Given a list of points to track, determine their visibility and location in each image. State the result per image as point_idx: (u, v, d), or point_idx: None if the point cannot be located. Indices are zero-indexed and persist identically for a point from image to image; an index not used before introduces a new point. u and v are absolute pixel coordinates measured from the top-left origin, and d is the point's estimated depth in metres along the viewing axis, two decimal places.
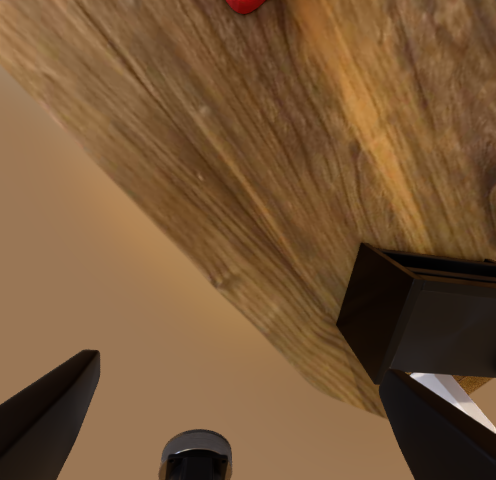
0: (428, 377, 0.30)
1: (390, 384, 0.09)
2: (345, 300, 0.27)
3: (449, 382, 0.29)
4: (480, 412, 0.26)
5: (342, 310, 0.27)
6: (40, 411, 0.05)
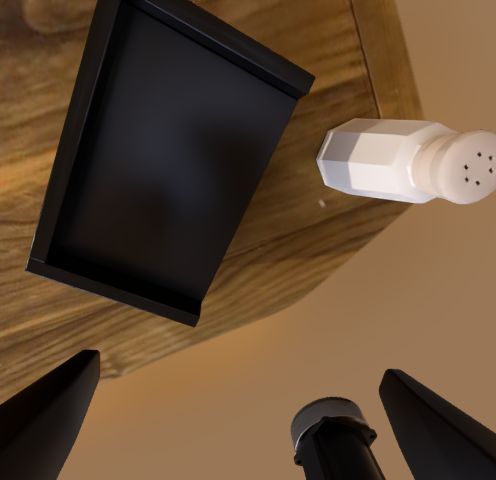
0: (325, 168, 0.20)
1: (390, 384, 0.09)
2: None
3: (336, 145, 0.18)
4: (369, 137, 0.15)
5: None
6: (40, 411, 0.05)
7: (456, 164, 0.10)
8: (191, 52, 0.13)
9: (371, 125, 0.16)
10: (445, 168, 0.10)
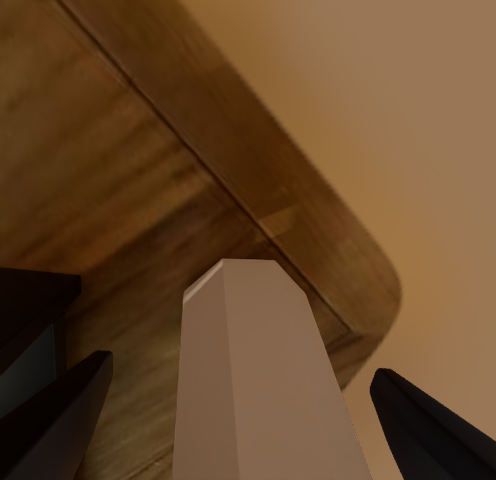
0: None
1: (380, 383, 0.09)
2: None
3: None
4: None
5: None
6: (59, 412, 0.05)
7: None
8: None
9: (205, 346, 0.07)
10: None
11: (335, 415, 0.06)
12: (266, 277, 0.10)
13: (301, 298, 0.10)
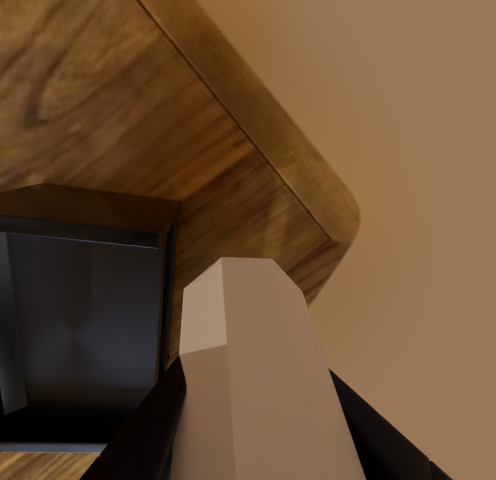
0: None
1: None
2: None
3: None
4: None
5: None
6: (174, 415, 0.06)
7: None
8: None
9: (203, 340, 0.08)
10: None
11: (326, 404, 0.06)
12: (263, 275, 0.10)
13: (297, 295, 0.11)
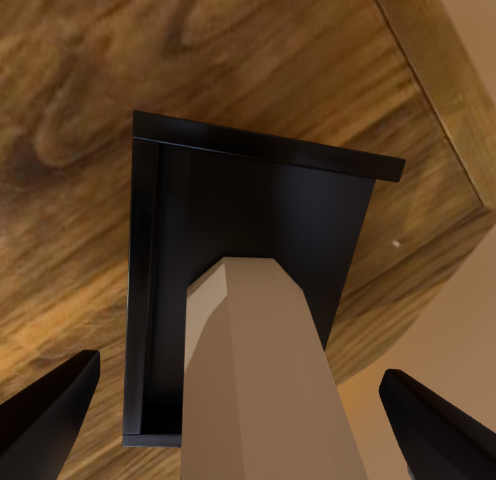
0: None
1: (390, 384, 0.09)
2: None
3: None
4: None
5: None
6: (40, 411, 0.05)
7: None
8: (240, 169, 0.10)
9: (209, 337, 0.08)
10: None
11: (328, 398, 0.07)
12: (265, 274, 0.10)
13: (298, 294, 0.11)
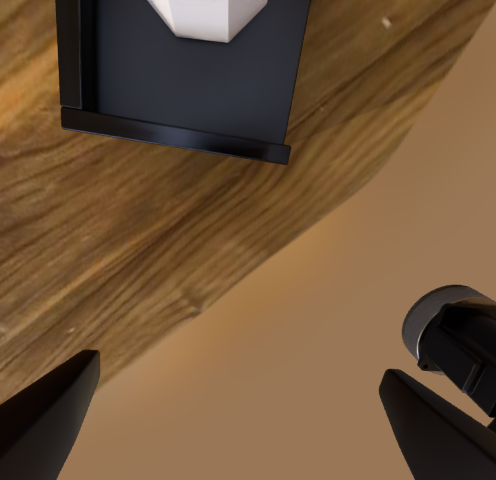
0: None
1: (390, 384, 0.09)
2: None
3: None
4: None
5: None
6: (40, 411, 0.05)
7: None
8: None
9: None
10: None
11: None
12: None
13: None
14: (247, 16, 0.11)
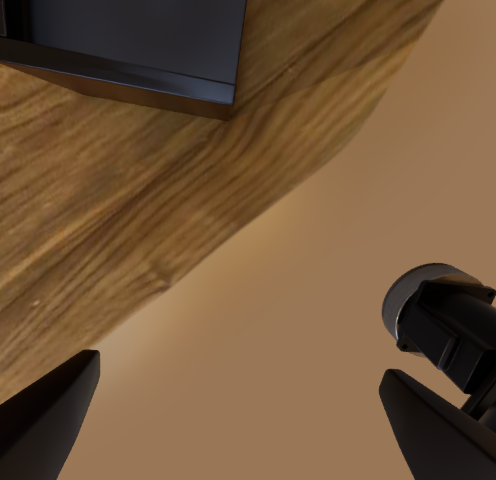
0: None
1: (390, 384, 0.09)
2: (179, 112, 0.17)
3: None
4: None
5: (197, 115, 0.18)
6: (40, 411, 0.05)
7: None
8: None
9: None
10: None
11: None
12: None
13: None
14: None
